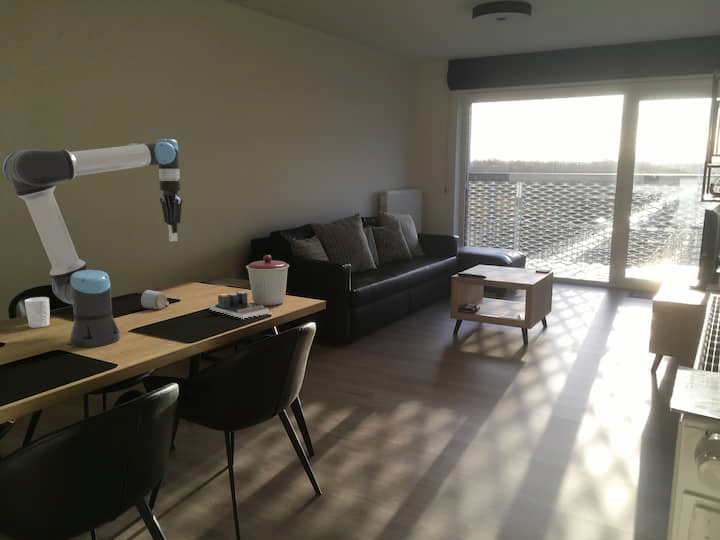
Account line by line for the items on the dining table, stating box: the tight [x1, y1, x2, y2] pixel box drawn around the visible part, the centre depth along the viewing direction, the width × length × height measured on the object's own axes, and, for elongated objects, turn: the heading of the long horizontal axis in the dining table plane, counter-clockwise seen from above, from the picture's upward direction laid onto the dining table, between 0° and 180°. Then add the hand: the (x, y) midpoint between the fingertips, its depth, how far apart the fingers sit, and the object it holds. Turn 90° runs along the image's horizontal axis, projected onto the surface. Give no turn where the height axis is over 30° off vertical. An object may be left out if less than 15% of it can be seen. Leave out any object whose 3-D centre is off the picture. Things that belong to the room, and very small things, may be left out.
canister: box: [245, 254, 290, 307], centre depth 243 cm, size 18×18×21 cm
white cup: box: [24, 296, 51, 329], centre depth 211 cm, size 8×8×10 cm
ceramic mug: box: [140, 289, 170, 310], centre depth 238 cm, size 11×8×8 cm
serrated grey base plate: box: [209, 290, 270, 320], centre depth 229 cm, size 13×22×7 cm, turn 48°
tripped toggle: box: [217, 293, 230, 308], centre depth 228 cm, size 3×4×5 cm, turn 48°
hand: (173, 241), depth 222 cm, fingers closed
